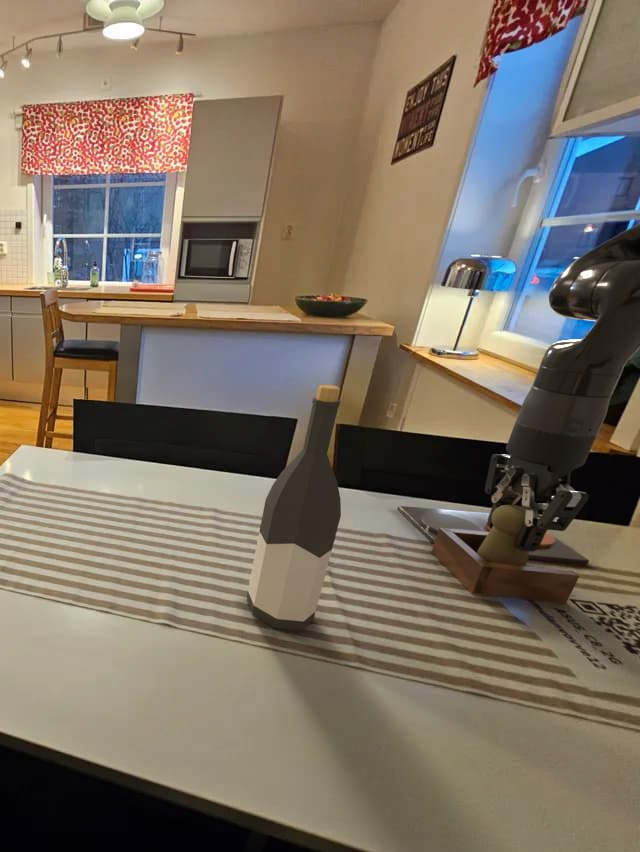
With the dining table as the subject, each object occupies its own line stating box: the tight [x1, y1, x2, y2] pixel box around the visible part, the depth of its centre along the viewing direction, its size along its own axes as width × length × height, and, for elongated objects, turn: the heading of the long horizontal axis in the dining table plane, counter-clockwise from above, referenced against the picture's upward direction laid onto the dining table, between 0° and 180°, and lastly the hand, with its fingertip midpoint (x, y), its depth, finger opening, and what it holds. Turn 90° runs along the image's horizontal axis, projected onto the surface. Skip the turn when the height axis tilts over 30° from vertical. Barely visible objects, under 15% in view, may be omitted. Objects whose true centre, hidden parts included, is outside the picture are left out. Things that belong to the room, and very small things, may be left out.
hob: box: [397, 505, 590, 566], centre depth 82 cm, size 20×14×1 cm
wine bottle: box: [246, 384, 342, 632], centre depth 59 cm, size 8×8×30 cm
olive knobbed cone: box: [477, 504, 542, 566], centre depth 69 cm, size 6×6×11 cm
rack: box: [430, 528, 580, 605], centre depth 71 cm, size 11×10×4 cm
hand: (509, 537), depth 69 cm, fingers closed on olive knobbed cone, 5 cm apart
